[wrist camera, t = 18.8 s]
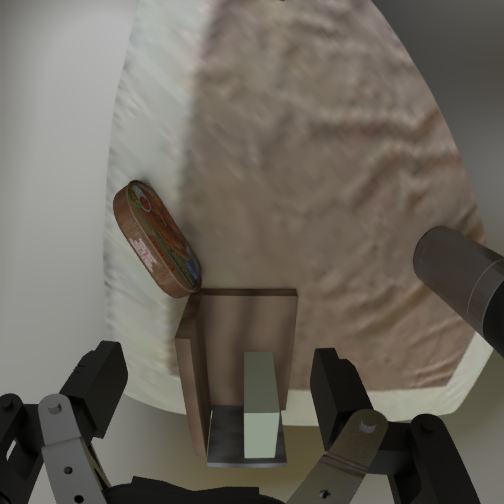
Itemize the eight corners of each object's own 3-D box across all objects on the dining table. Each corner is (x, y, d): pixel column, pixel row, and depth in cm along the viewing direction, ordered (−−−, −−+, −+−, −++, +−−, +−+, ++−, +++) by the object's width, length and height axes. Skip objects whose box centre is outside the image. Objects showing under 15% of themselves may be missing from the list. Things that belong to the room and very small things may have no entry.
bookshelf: (295, 289, 42) (315, 350, 29) (284, 402, 49) (292, 466, 36) (192, 288, 41) (170, 349, 28) (203, 401, 49) (194, 465, 35)
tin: (207, 273, 41) (198, 302, 33) (187, 283, 41) (175, 314, 33) (146, 175, 37) (121, 182, 29) (127, 188, 37) (99, 199, 29)
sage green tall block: (272, 351, 43) (279, 412, 31) (269, 398, 46) (274, 457, 35) (244, 351, 43) (244, 413, 31) (244, 399, 46) (244, 458, 34)
